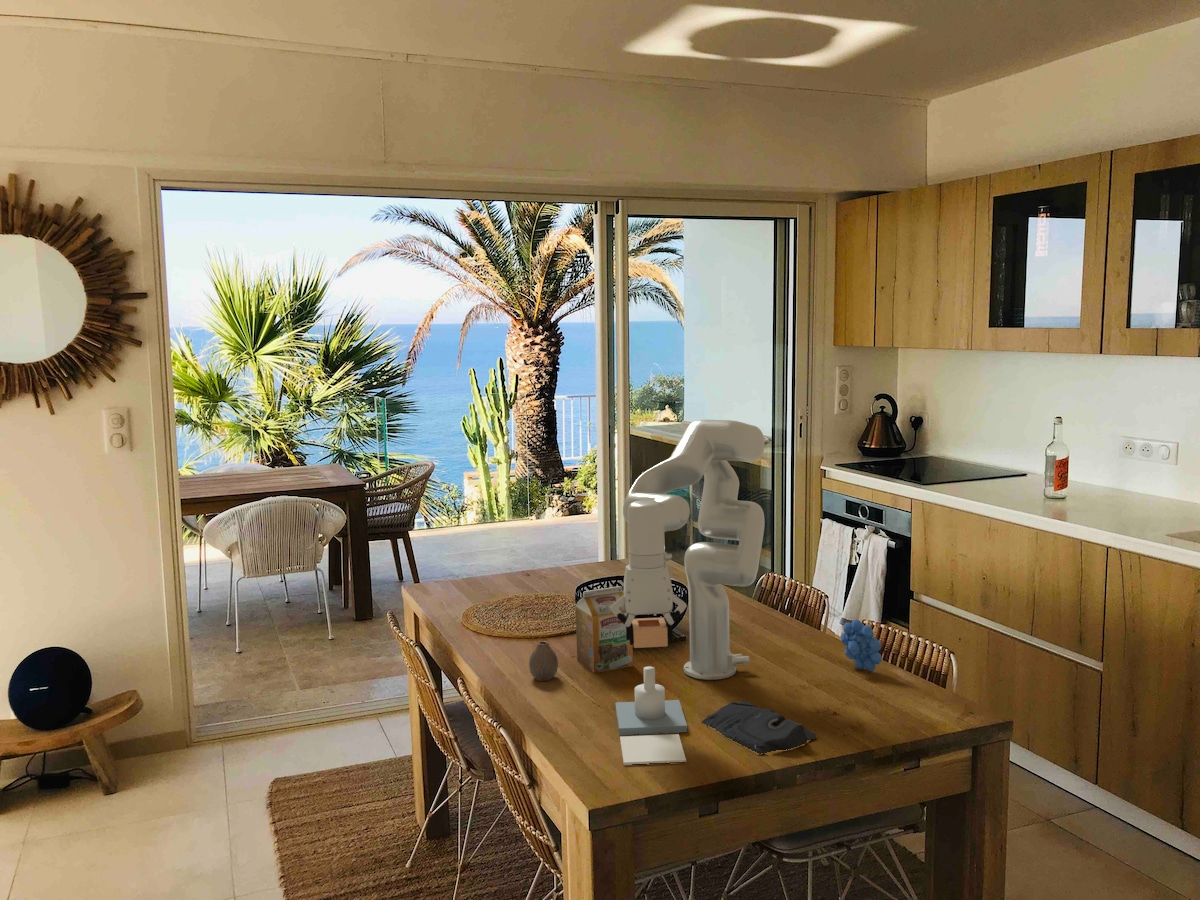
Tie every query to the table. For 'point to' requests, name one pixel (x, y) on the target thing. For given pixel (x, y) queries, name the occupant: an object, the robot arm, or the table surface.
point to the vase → (543, 662)
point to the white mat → (652, 749)
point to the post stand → (650, 710)
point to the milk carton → (601, 631)
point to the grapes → (861, 645)
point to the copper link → (649, 632)
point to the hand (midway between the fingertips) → (649, 641)
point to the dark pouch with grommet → (758, 727)
